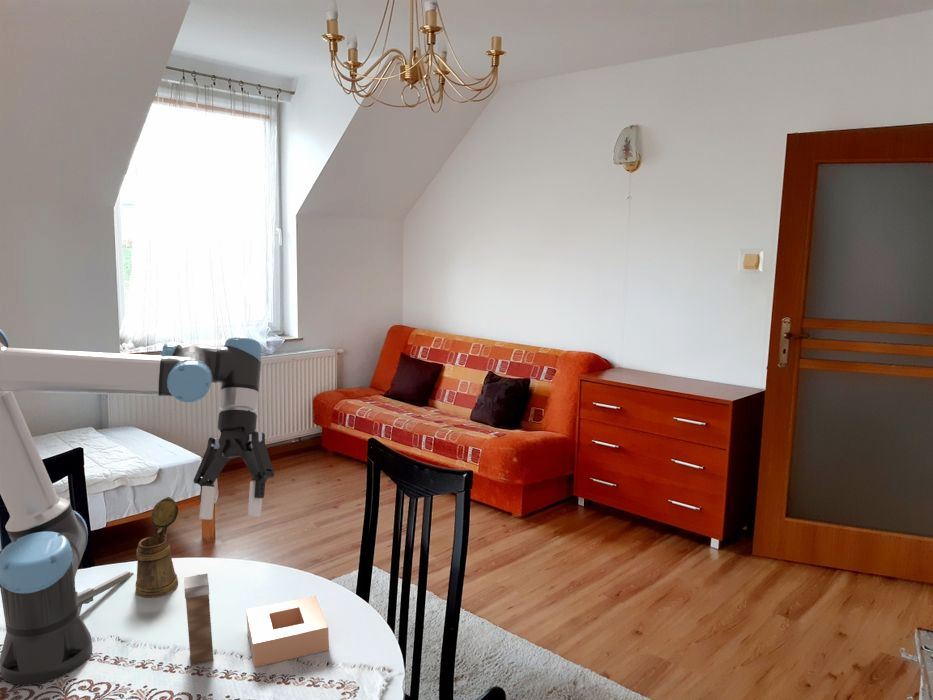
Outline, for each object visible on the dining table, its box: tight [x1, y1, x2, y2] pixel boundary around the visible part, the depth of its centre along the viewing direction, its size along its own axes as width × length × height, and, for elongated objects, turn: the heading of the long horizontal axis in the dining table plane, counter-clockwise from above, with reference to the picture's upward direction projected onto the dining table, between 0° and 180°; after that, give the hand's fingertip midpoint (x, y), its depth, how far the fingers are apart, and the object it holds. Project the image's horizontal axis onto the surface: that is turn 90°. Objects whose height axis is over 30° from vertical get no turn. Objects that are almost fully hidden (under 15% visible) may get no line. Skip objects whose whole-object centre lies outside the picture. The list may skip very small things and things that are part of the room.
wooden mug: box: [134, 496, 179, 599], centre depth 161 cm, size 9×14×18 cm, turn 177°
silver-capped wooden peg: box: [183, 573, 214, 666], centre depth 135 cm, size 4×4×16 cm
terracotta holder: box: [245, 595, 330, 668], centre depth 141 cm, size 14×12×5 cm
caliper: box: [76, 571, 135, 616], centre depth 156 cm, size 20×1×6 cm, turn 170°
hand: (229, 517), depth 141 cm, fingers open, 13 cm apart
